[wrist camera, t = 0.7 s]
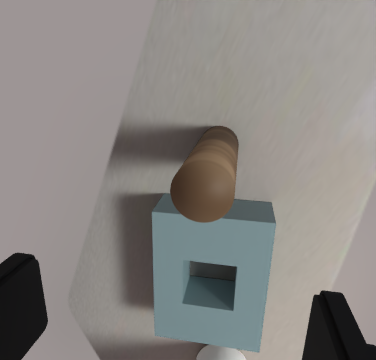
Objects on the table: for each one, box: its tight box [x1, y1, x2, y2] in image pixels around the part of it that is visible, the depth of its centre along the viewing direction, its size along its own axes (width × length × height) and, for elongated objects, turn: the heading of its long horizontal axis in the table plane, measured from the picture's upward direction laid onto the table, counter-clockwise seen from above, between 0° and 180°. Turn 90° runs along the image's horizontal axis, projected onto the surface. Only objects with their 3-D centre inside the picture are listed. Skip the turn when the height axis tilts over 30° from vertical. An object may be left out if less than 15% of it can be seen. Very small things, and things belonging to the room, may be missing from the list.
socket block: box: [152, 193, 276, 352], centre depth 34 cm, size 16×12×5 cm
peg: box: [170, 126, 238, 223], centre depth 25 cm, size 4×4×14 cm
